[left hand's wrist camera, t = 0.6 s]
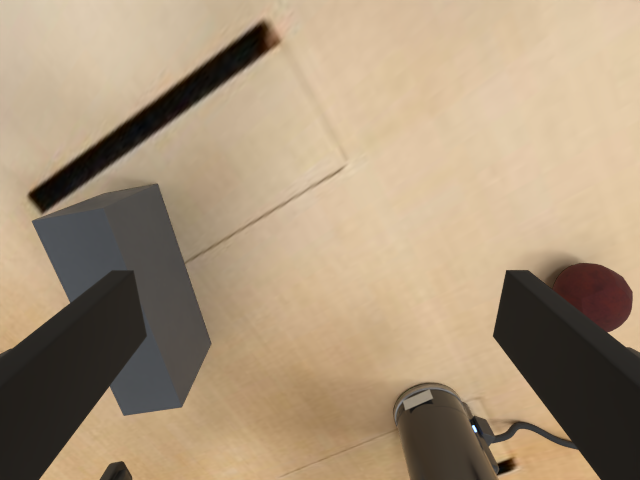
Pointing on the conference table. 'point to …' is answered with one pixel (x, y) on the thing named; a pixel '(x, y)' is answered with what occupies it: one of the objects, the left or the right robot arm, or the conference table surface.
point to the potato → (596, 294)
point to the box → (152, 283)
